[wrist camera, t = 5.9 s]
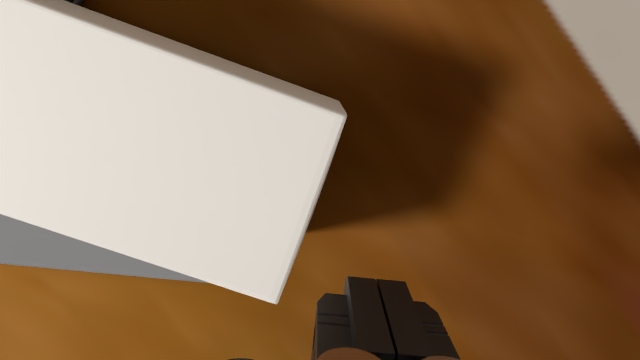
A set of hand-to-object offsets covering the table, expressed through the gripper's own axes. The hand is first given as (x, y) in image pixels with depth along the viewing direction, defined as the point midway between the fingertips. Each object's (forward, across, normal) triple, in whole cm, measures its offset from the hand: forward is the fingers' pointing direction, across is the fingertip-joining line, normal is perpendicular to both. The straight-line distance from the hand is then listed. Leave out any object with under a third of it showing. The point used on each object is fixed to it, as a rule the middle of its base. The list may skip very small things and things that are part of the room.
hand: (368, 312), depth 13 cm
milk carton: (+8, +1, -1) cm, 8 cm away
